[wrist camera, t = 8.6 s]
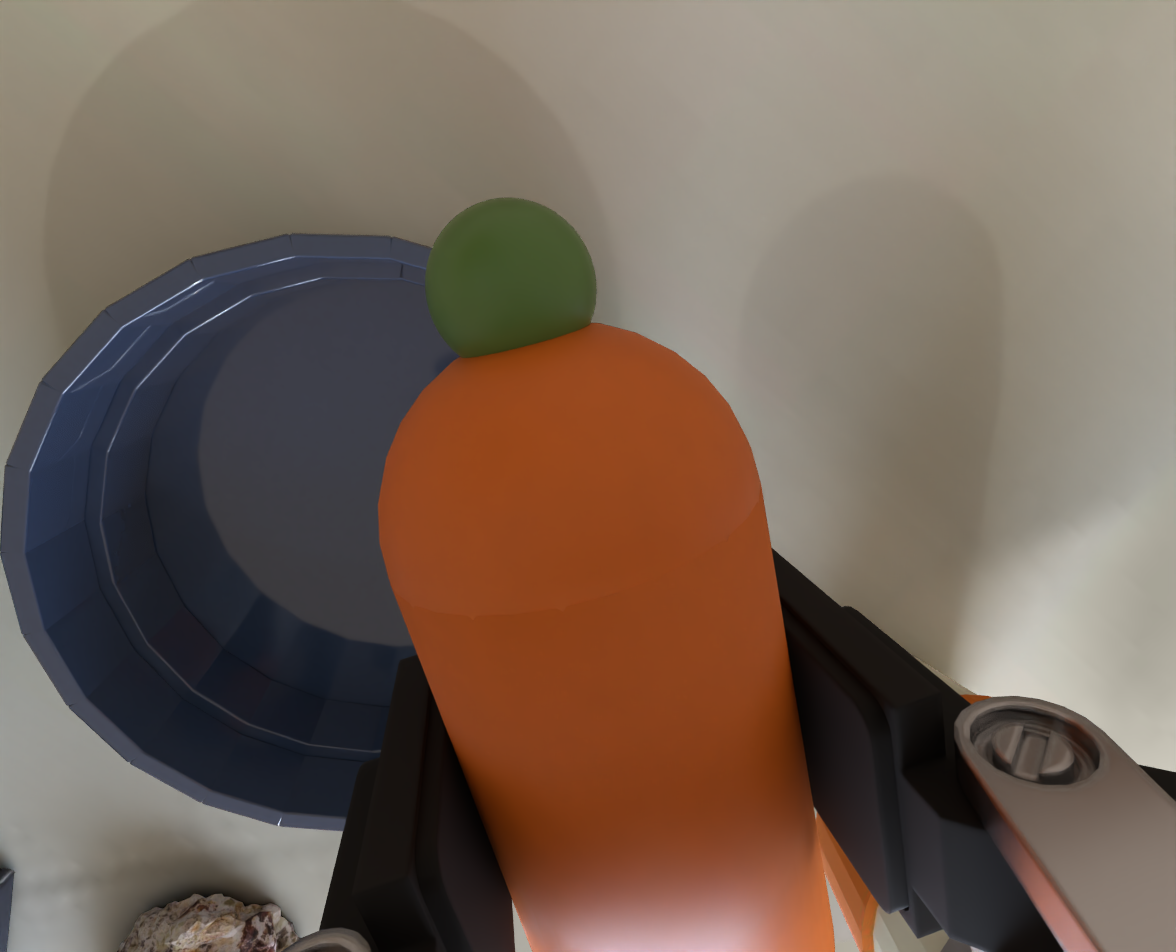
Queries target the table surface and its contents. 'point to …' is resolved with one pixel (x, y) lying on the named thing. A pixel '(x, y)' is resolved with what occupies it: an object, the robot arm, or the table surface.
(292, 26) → the table surface
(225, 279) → the blue round bowl
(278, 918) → the mineral rock
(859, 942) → the reusable coffee cup
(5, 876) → the small box
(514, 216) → the carrot
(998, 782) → the robot arm
